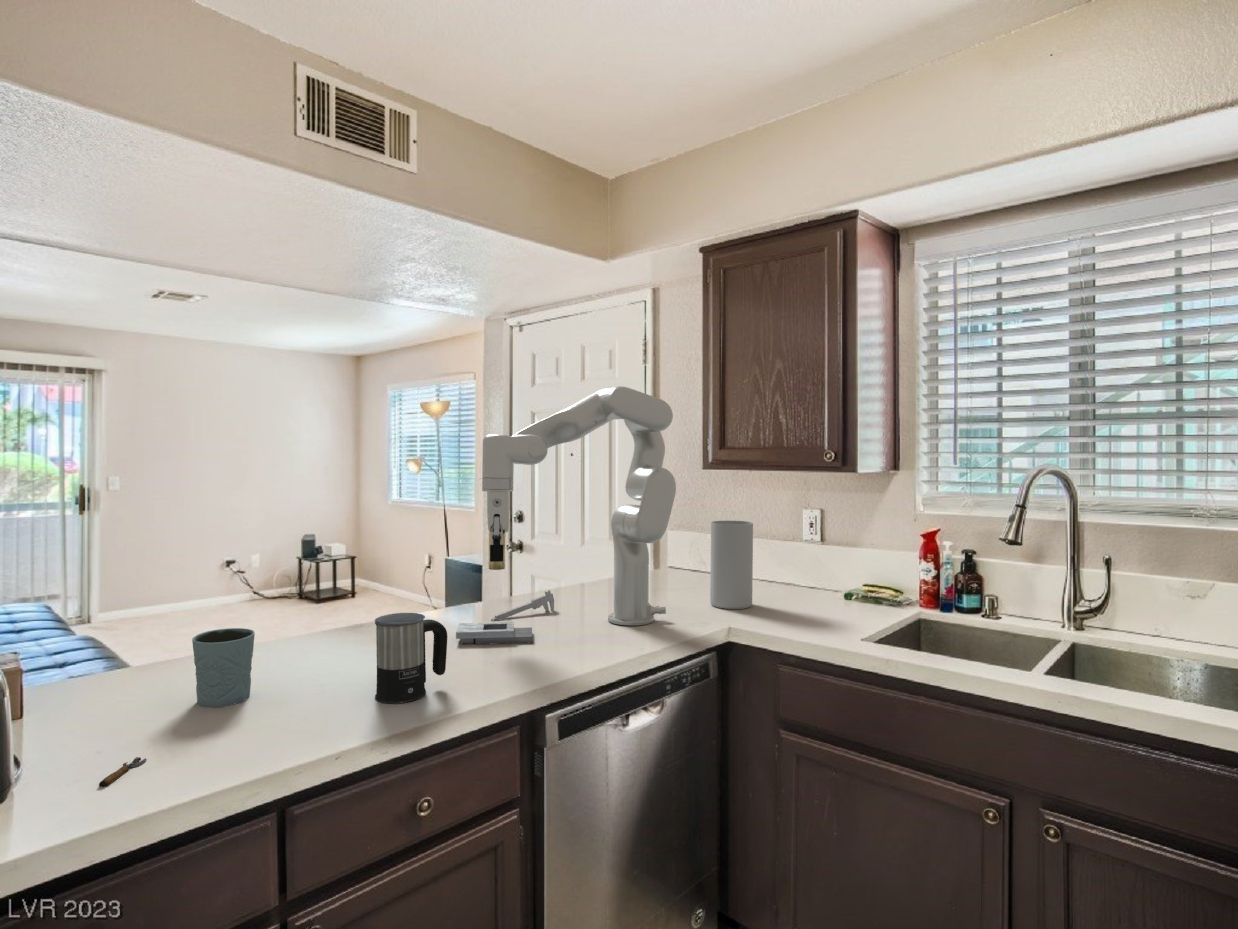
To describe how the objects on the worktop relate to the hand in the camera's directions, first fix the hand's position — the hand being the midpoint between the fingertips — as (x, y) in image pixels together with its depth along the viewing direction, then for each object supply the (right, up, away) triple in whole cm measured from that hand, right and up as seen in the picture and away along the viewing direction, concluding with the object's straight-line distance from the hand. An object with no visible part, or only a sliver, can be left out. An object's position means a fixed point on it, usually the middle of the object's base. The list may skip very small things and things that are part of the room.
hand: (496, 559), depth 175 cm
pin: (0, -2, 0) cm, 2 cm away
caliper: (+3, -20, +26) cm, 33 cm away
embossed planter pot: (-43, -20, -43) cm, 64 cm away
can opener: (-41, -21, -73) cm, 86 cm away
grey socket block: (0, -20, 0) cm, 20 cm away
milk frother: (-13, -21, -36) cm, 44 cm away
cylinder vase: (+64, -19, +41) cm, 78 cm away
